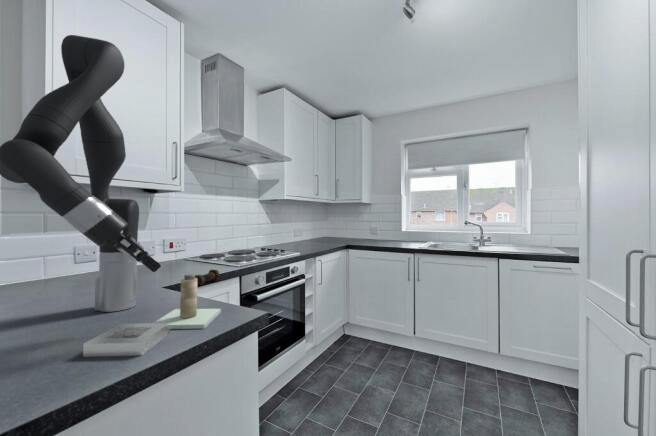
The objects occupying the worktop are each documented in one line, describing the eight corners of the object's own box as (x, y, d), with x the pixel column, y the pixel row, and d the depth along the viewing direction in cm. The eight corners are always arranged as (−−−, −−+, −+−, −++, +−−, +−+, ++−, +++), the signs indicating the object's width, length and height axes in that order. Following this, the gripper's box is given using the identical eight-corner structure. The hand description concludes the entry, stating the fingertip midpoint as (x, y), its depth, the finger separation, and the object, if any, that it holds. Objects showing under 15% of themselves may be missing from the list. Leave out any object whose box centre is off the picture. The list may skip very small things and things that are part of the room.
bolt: (189, 292, 114) (213, 283, 129) (199, 286, 113) (221, 278, 128) (183, 279, 115) (207, 271, 130) (192, 273, 114) (216, 266, 129)
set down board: (149, 329, 69) (150, 325, 69) (174, 312, 82) (175, 309, 82) (204, 328, 70) (204, 324, 70) (220, 312, 83) (220, 308, 83)
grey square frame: (83, 356, 55) (83, 343, 55) (120, 334, 66) (120, 323, 66) (141, 355, 56) (142, 342, 56) (169, 333, 67) (169, 323, 67)
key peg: (177, 318, 74) (178, 276, 74) (183, 314, 78) (184, 273, 78) (193, 318, 74) (194, 276, 75) (198, 313, 78) (199, 273, 79)
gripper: (114, 208, 60) (173, 258, 68) (109, 210, 71) (160, 253, 79) (80, 234, 57) (146, 283, 64) (81, 231, 68) (137, 274, 75)
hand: (154, 266), depth 71 cm, fingers open, 8 cm apart
